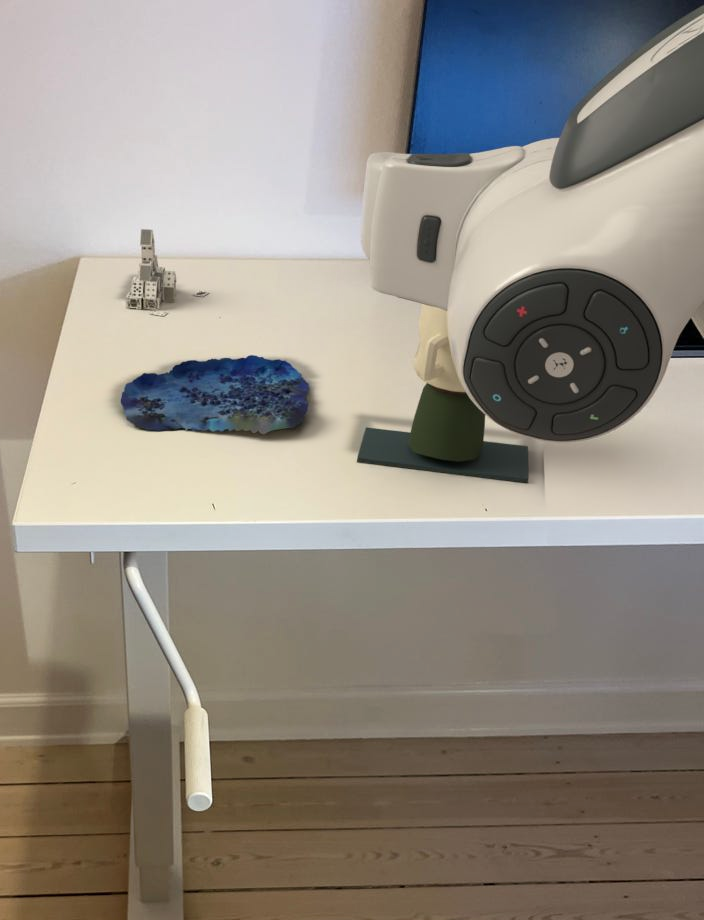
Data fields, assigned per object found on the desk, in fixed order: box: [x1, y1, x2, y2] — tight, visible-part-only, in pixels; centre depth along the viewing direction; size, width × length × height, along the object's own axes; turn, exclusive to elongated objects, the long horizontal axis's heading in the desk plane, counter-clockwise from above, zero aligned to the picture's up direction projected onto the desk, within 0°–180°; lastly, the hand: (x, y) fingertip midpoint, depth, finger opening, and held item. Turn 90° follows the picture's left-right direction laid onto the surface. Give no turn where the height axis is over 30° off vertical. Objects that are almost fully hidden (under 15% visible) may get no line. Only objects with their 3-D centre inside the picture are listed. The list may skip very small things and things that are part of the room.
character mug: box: [408, 303, 486, 461], centre depth 80 cm, size 11×7×13 cm, turn 140°
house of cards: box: [125, 228, 210, 317], centre depth 111 cm, size 9×9×8 cm
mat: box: [356, 426, 529, 484], centre depth 84 cm, size 14×6×1 cm, turn 77°
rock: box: [120, 354, 310, 435], centre depth 92 cm, size 15×17×2 cm
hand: (544, 176), depth 59 cm, fingers open, 8 cm apart
